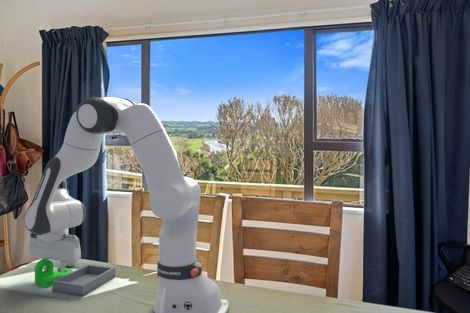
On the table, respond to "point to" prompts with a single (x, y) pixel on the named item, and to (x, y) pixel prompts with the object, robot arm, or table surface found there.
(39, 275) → the mechanical part
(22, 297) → the table surface
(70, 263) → the white sculpted head
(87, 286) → the tray
